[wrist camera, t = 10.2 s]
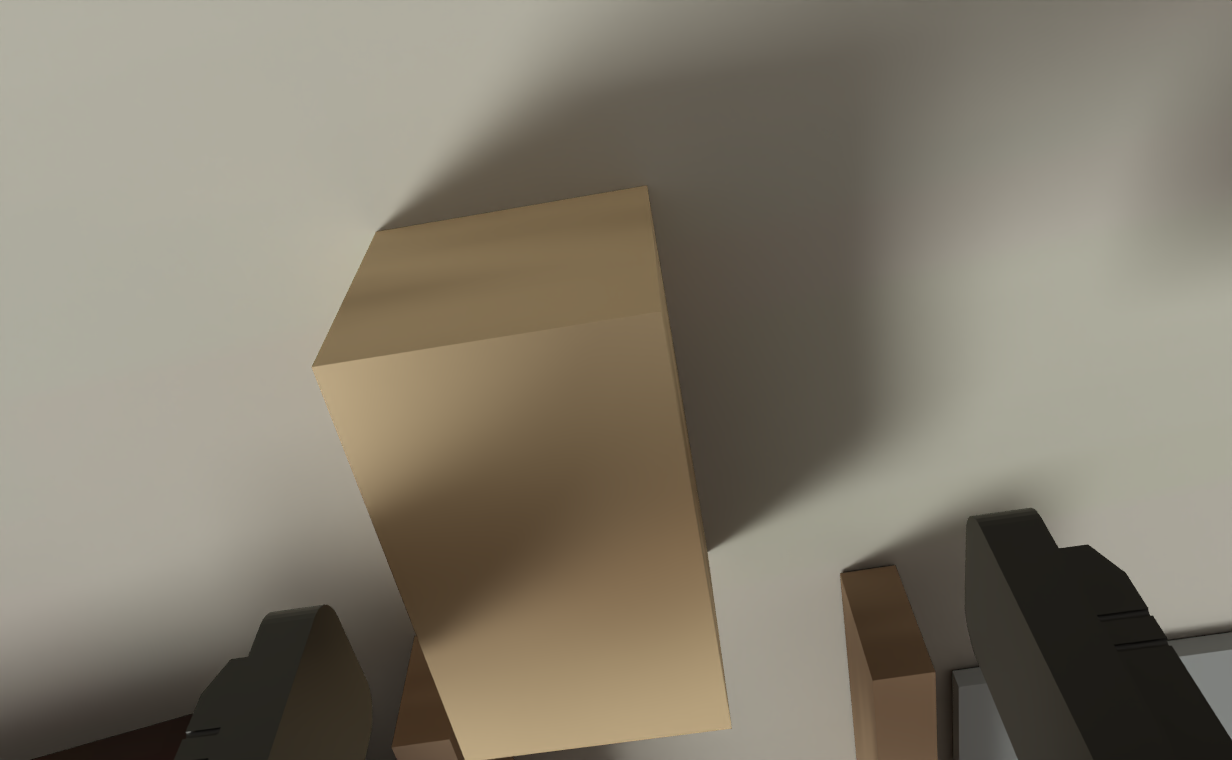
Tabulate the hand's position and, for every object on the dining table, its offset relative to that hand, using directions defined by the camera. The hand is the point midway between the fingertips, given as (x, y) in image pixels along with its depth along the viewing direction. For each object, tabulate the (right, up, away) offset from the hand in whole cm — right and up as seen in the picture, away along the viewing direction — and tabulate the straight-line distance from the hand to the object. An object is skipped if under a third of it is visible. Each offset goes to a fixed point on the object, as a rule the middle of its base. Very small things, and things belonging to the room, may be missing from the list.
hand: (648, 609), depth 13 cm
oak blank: (-1, +2, +4) cm, 5 cm away
